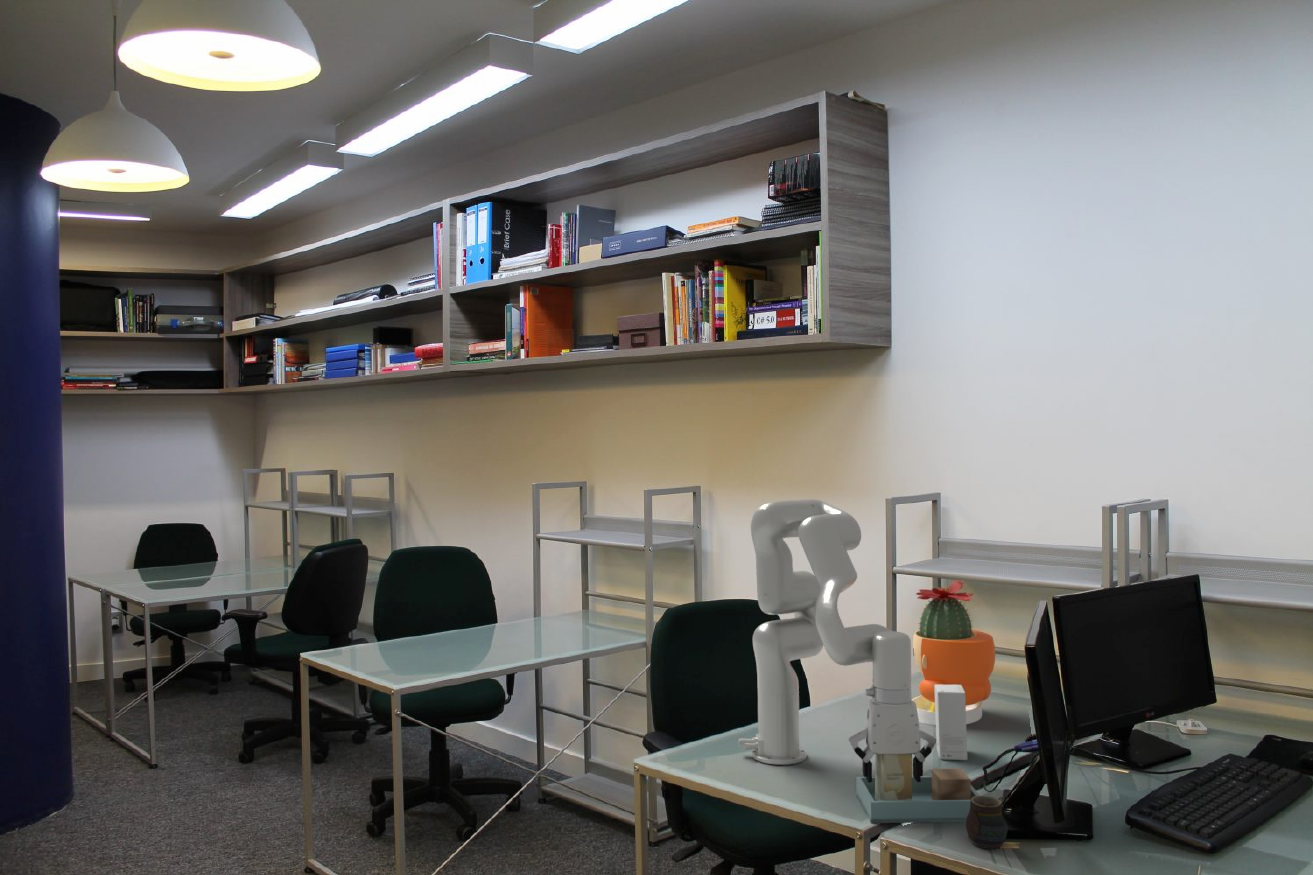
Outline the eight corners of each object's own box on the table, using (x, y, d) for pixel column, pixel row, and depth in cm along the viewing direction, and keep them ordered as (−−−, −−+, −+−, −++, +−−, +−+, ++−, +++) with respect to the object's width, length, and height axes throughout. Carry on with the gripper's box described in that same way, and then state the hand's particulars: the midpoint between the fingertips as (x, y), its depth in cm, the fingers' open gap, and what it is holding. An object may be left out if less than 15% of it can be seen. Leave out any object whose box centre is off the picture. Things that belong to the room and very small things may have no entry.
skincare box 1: (884, 810, 191) (883, 748, 191) (874, 802, 195) (873, 741, 195) (914, 806, 193) (913, 745, 193) (903, 798, 197) (902, 738, 197)
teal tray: (871, 823, 187) (870, 802, 187) (856, 795, 201) (856, 776, 201) (985, 821, 187) (985, 801, 187) (962, 794, 201) (962, 775, 201)
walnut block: (940, 809, 191) (940, 779, 191) (931, 798, 197) (931, 768, 197) (970, 809, 191) (970, 779, 191) (961, 798, 197) (961, 768, 197)
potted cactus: (895, 716, 256) (893, 584, 256) (941, 700, 271) (939, 575, 271) (969, 734, 240) (968, 593, 240) (1014, 716, 255) (1012, 583, 255)
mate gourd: (1000, 835, 180) (1000, 782, 180) (1013, 853, 173) (1013, 797, 173) (961, 835, 181) (961, 782, 181) (973, 852, 173) (972, 797, 173)
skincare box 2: (967, 761, 221) (966, 693, 221) (937, 759, 222) (936, 691, 222) (963, 749, 229) (962, 683, 229) (934, 748, 230) (933, 682, 230)
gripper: (852, 700, 190) (853, 787, 190) (940, 699, 190) (941, 786, 190) (845, 689, 198) (845, 773, 198) (930, 689, 197) (930, 772, 198)
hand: (892, 779), depth 194 cm, fingers open, 9 cm apart
